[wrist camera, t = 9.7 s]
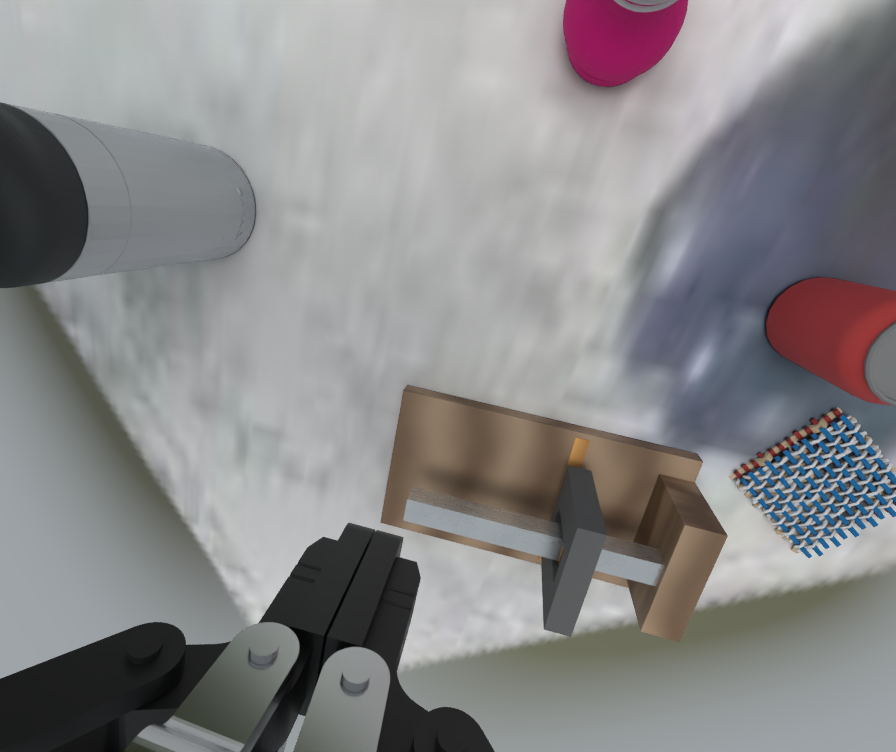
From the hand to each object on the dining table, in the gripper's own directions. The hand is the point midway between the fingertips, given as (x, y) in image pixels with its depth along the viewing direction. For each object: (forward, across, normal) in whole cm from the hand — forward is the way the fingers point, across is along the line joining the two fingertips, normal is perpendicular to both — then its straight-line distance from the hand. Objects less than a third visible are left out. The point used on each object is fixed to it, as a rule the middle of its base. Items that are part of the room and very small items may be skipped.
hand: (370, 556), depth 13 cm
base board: (+31, -8, +14) cm, 35 cm away
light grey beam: (+25, -8, +14) cm, 30 cm away
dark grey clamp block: (+28, -11, +14) cm, 33 cm away
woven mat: (+32, -31, +7) cm, 45 cm away
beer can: (+31, -25, -6) cm, 41 cm away
